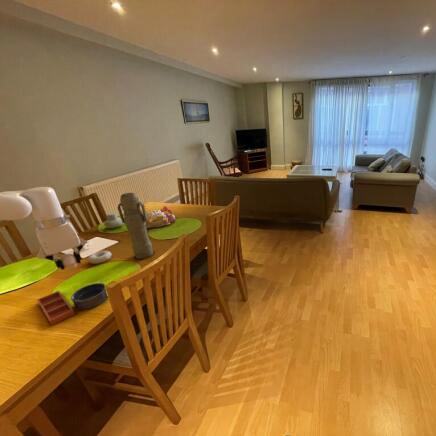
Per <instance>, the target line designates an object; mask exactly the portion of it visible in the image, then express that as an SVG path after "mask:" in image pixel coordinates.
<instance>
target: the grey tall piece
mask: <svg viewBox="0 0 436 436" xmlns="http://www.w3.org/2000/svg"><path fill="white" fill-rule="evenodd" d="M119 200H120V201H119V203H118V204H117V210H118V214H119V218H120V219H121V220H122V223H123V224H124V225H125V227H126V229H127V230H128V233H129V237H130V240H131V243H132V246H131V247H132V251H133V254H134V256H135V259H137V260H145V259H148V258H150V257H152V256H153V255H154V250H153V244H152V241H151V240H150V238H149V234H148V230H147V228H146V222H145V221H146V220H147V219H148V218H147V211H146V210H147V209H146V206H145V203H143V201H139V198H138V196H137V195H136V193H135V192H125V193H122V194H121V195H120V199H119Z"/></svg>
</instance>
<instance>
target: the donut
mask: <svg viewBox="0 0 436 436" xmlns="http://www.w3.org/2000/svg"><path fill="white" fill-rule="evenodd" d="M112 256H113V255H112V252H111V251H109V250H100V251H98V252H96V253H94V254H92V255H90V256H88V258H87V261H88V263H90V264H94V265H95V264H96V265H97V264H102V263H105V262H106V261H109V260H110V259H111V258H112Z"/></svg>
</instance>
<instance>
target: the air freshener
mask: <svg viewBox="0 0 436 436" xmlns="http://www.w3.org/2000/svg"><path fill="white" fill-rule="evenodd" d="M105 217H106V220H105V221H104V223H103V225H104V227H105V228H107V229H110V230H113V229H117V228H120V227H122V226H123V224H124V223H122V220H121V217H118V214H117V212H108V213H106V214H105Z"/></svg>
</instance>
